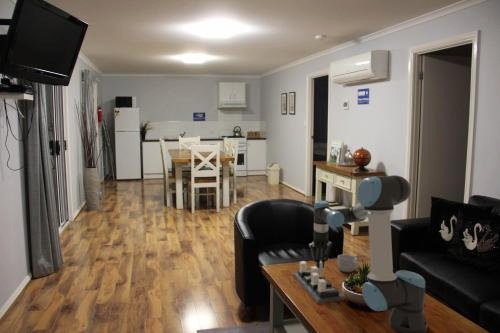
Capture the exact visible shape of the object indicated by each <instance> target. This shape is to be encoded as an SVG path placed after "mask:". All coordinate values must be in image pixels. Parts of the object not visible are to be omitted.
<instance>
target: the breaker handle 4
mask: <svg viewBox="0 0 500 333" xmlns="http://www.w3.org/2000/svg"><path fill="white" fill-rule="evenodd" d="M318 290H319V291H320V292H325V291H326V281H325V280H324V279H318Z"/></svg>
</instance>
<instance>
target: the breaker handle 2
mask: <svg viewBox="0 0 500 333" xmlns="http://www.w3.org/2000/svg"><path fill="white" fill-rule="evenodd" d="M310 269H311V273H318V268H317V267H316V265H314V266H310Z"/></svg>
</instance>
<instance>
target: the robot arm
mask: <svg viewBox="0 0 500 333" xmlns="http://www.w3.org/2000/svg"><path fill="white" fill-rule="evenodd" d="M411 193H412V187H411V184H410V182H409V181H408V179H406V178H404V177H403V176H400V175H396V174H395V175H384V176H371V177H366V178H364V179H363V180H361V181H360V183H359V184H358V187H357V192H356V194H357V195H356V196H357V201H358V203H357V204H355V205H353V206H351V207H344V208H334V209H333V208H331V207H330V203H329V201H328V200H317V201H315V202H314V207H313V240H312V242H311V243H308V246H309V248H310V253H311V257H312V260H313V261H314V262H315V263H316V264H315V266H316V267H317V268H318V274H319V275H322V276H323V269H324V267H325V263H326V261H327V262H328V260H329V257H330V252H331V248H332V247H333V242H331V241H330V240H329V226H332V227H334V228H339V227H341V226H342V225H343V224H344V225H345V224H350V223H360V222H364V221H366V219H367V218H368V220H367V223H368V237H369V238H368V240H369V258H370V260H369V261H370V271H369V273H368V274H367V276H366V277H367V280H368V282H366V281H365V283H363V285H361V286H362V287H361V294H362V298H363V299H364V302H365V304H366V305H367V306H368V307H369V308H370V309H371V310H372V311H375V312H381V311H387V310H390V309H391V312H390V314H389V316H388V325H389V326H390V327H391V329H392V330H395V331H397V332H399V333H426V332H427V329H428V322H427V319H426V316H425V312H424V308H425V307H424V306H425V294H426V293H425V292H426V280H425V278H424V277H423V276H422V275H420V274H419V273H417V272H413V271H410V270H405V269H402V270H397V271H395V273H394V268H393V248H392V247H393V246H392V227H391V226H392V224H391V222H392V221H391V213H392V212H393V211H394V210H395V206H397V205H399V204H402V203H404V202H406V201H407V200H408V199H409V198H410V196H411Z"/></svg>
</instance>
